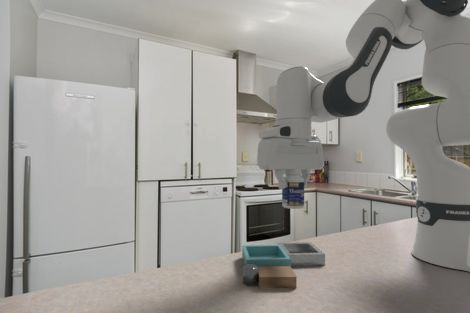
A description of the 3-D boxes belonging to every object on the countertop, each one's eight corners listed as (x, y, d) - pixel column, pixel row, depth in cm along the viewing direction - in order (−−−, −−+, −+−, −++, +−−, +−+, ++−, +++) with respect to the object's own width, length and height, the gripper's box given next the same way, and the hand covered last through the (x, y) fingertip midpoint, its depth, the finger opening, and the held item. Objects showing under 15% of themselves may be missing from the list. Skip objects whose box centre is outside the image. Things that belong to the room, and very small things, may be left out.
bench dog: (256, 278, 52) (256, 263, 52) (259, 285, 49) (259, 269, 49) (242, 279, 52) (242, 264, 52) (243, 286, 49) (243, 270, 49)
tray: (280, 256, 65) (280, 244, 65) (291, 273, 55) (291, 258, 55) (242, 257, 64) (242, 245, 64) (246, 274, 54) (246, 260, 54)
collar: (310, 251, 68) (310, 242, 68) (325, 264, 59) (325, 254, 59) (277, 252, 68) (277, 242, 68) (287, 265, 59) (287, 254, 59)
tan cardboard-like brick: (290, 278, 53) (290, 266, 53) (296, 290, 48) (296, 276, 48) (256, 278, 53) (256, 266, 53) (259, 290, 48) (259, 277, 48)
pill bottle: (289, 210, 60) (289, 168, 60) (278, 206, 65) (278, 168, 65) (308, 208, 62) (308, 168, 62) (296, 205, 67) (296, 168, 67)
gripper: (310, 136, 72) (310, 185, 72) (253, 131, 61) (253, 188, 61) (329, 134, 67) (330, 187, 67) (271, 127, 56) (270, 191, 55)
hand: (293, 188), depth 64 cm, fingers closed on pill bottle, 5 cm apart
